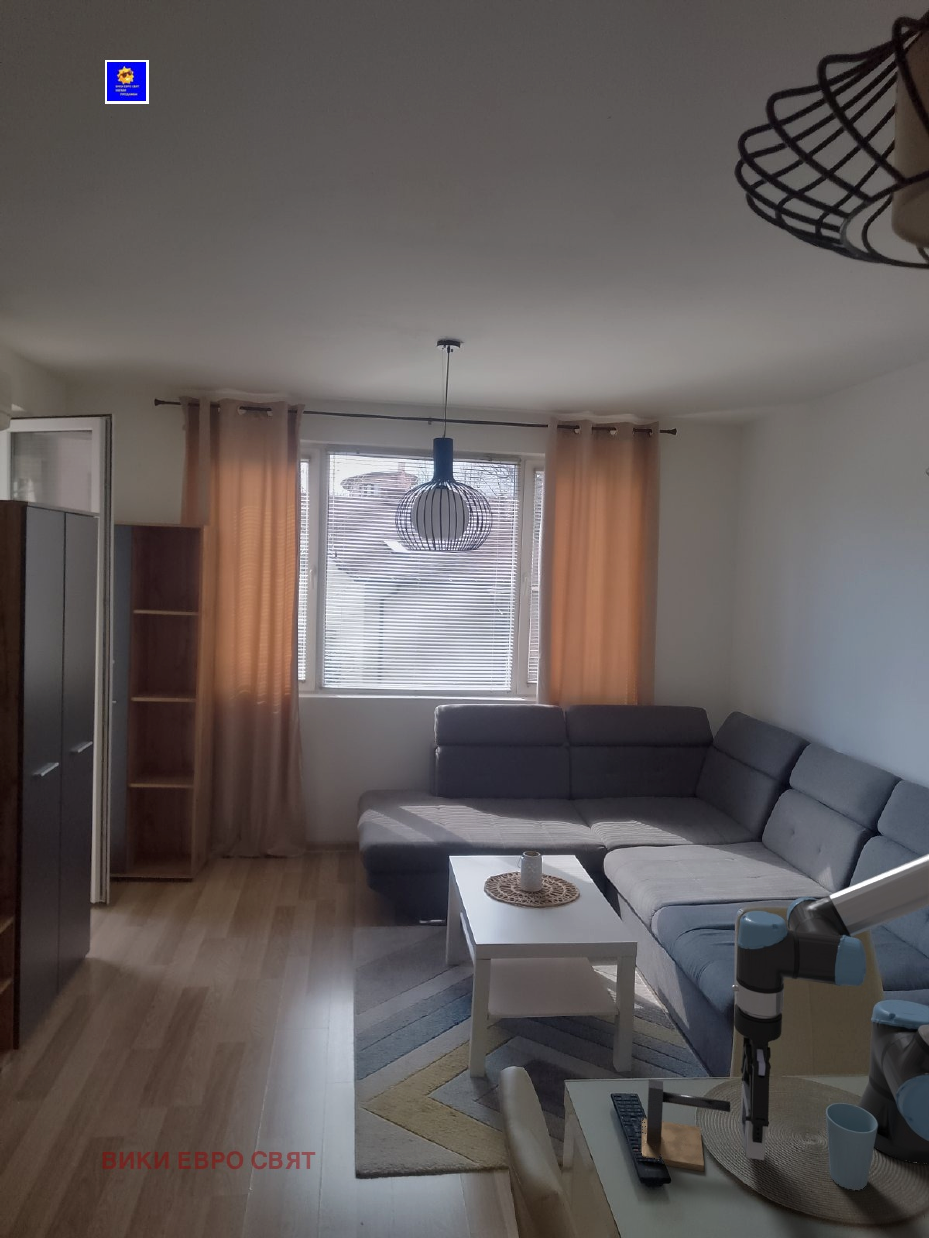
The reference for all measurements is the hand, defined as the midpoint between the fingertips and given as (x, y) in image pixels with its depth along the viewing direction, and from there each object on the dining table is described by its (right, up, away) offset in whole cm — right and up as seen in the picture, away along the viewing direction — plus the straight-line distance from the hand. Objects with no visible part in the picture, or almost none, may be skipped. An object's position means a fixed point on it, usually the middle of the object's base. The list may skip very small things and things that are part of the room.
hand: (751, 1139), depth 143 cm
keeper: (-11, -3, +2) cm, 11 cm away
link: (0, 0, 0) cm, 0 cm away
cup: (+14, -4, -4) cm, 15 cm away
